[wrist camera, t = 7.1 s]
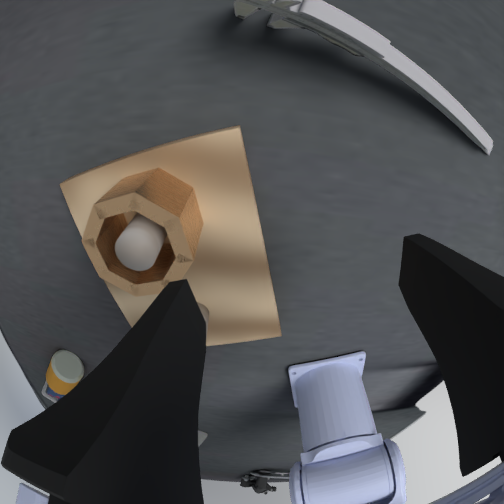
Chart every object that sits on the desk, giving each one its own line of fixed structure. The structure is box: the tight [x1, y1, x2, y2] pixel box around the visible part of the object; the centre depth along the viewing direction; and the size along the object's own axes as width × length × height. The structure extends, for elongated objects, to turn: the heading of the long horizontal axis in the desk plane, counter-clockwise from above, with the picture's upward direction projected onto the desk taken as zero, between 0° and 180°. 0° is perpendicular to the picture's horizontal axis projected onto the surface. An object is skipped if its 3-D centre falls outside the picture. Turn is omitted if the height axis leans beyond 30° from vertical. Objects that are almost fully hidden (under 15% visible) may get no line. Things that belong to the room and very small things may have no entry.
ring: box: [82, 167, 204, 297], centre depth 15 cm, size 6×6×4 cm
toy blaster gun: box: [42, 349, 84, 403], centre depth 28 cm, size 21×4×15 cm
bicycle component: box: [240, 470, 289, 494], centre depth 52 cm, size 12×7×15 cm
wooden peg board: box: [60, 125, 282, 346], centre depth 17 cm, size 16×12×5 cm
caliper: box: [234, 0, 493, 155], centre depth 11 cm, size 20×1×6 cm, turn 72°
